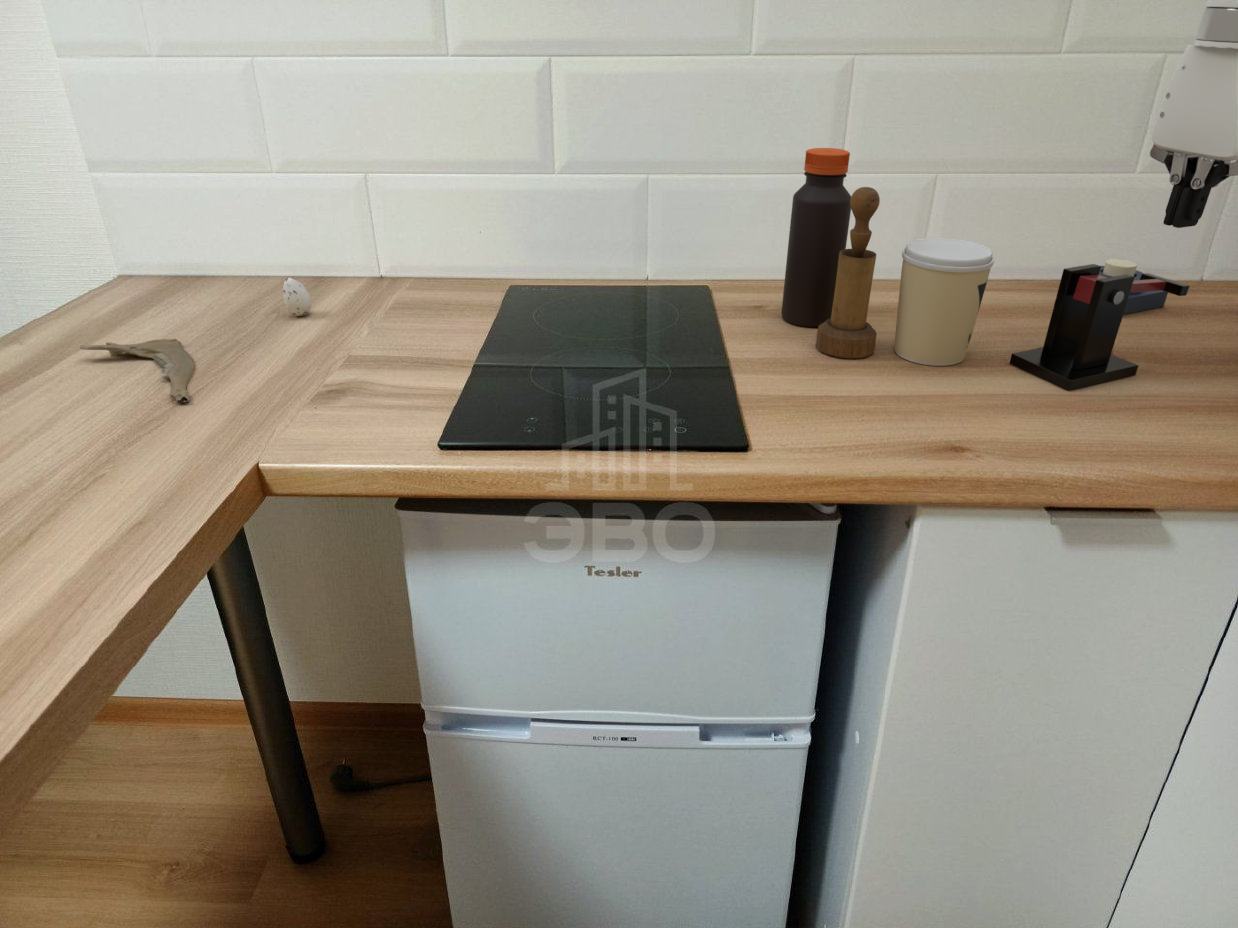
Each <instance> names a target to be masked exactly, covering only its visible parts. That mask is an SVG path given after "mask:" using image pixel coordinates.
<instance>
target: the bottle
mask: <svg viewBox="0 0 1238 928" xmlns="http://www.w3.org/2000/svg"><path fill="white" fill-rule="evenodd" d="M850 157H851V152H850V151H849V150H845V149H842V148H833V147H814V148H808V149H807V150H806V151H805V158H804V167H803V170H804V173H803V176H805V183H804V184H803V185H802V186H800V188H799V189H798V190H797V191H796V192H795V193H794V194H793V195H792V203H791V204H792V205H791V212H790V213H791V214H790V222H789V223H790V224H789V231H788V233H789V234H788V244H787V254H786V264H785V273H784V281H783V282H784V283H783V293H782V302H781V318H782V319H783V320H784V321H785V322H787V323H789V324H791V325H795V326H798V327H804V328H818V327H819V325H820V324H822V323H824V322H825V321H826V320H828V319H830V318H831V314H832V307H833V300H834V293H835V285H836V278H837V270H838V261H839V253H840V251H841V250H844V249H847V243H848V242H847V241H848V235H849V227H850V221H851V220H850V219H851V214H852V213H851V212H852V210H851V207H850V199H851V196H852V195H851V194H850V192H849V191H848V190H847V189H846V187H845V186H844V181H845V178H847V173H848V171H849V164H850Z"/></svg>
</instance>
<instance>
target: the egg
mask: <svg viewBox="0 0 1238 928" xmlns="http://www.w3.org/2000/svg"><path fill="white" fill-rule="evenodd" d="M282 297H283V302H284V306H285V308H286V309H287V311H289V313H291V314H292V315H293V316H298V317H303V316H306V315H308V314H309V313H310V311H311V309H312V298H311V295H310V294H309V291H308V290H307V288H306V287H305V286H304V285H303V284H302V283H301V282H300V281H298V280H295V279H294V278H292V277H290V276H289V277H286V278H285V280H284V281H283V287H282Z"/></svg>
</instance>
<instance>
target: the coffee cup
mask: <svg viewBox="0 0 1238 928" xmlns="http://www.w3.org/2000/svg"><path fill="white" fill-rule="evenodd" d="M993 255H994V253H993V251H992V249H991V248H989V247H988V246H985V245H983V244H981V243H977V242H976V241H975V242H974V241H969V240H966V239H965V240H964V239H958V238H949V237H926V238H918V239H914V240H911V241H909V242H908V243H906V246H905V248H903V250H902V253H901V257H902V262H901V263H902V265H901V272H900V281H899V292H898V303H897V313H896V323H895V333H894V352H895V354H896V355H897V356H898V357H900V358H902V359H904V360H906V361H909V362H912V363H915V364H920V365H925V366H934V367H945V366H946V367H947V366H954V365H957V364H959V363H961V362H963V361H964V359H965V358H966V354H967V351H968V349H969V345H970V342H971V340H972V339H971V338H972V335H973V333H974V329H975V325H976V322H977V319H978V315H979V312H980V309H981V308H980V307H981V304H982V301H983V297H984V294H985V291H986V288H987V283H988V279H989V276H990V272H991V268H992V267H993V265H994V263H995V257H994V256H993Z"/></svg>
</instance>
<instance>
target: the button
mask: <svg viewBox="0 0 1238 928" xmlns="http://www.w3.org/2000/svg"><path fill="white" fill-rule="evenodd" d="M1103 266H1104V270H1103V274H1105V275H1108V276H1112V277H1114V276H1120V275H1126V274H1127V275H1130V276H1134V274H1135V271H1136V270H1137V267H1138V264H1137V263H1136V262H1134V261H1132V260H1128V259H1121V258H1110V259H1109V258H1108V259H1106V260H1105V263H1104V265H1103Z"/></svg>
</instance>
